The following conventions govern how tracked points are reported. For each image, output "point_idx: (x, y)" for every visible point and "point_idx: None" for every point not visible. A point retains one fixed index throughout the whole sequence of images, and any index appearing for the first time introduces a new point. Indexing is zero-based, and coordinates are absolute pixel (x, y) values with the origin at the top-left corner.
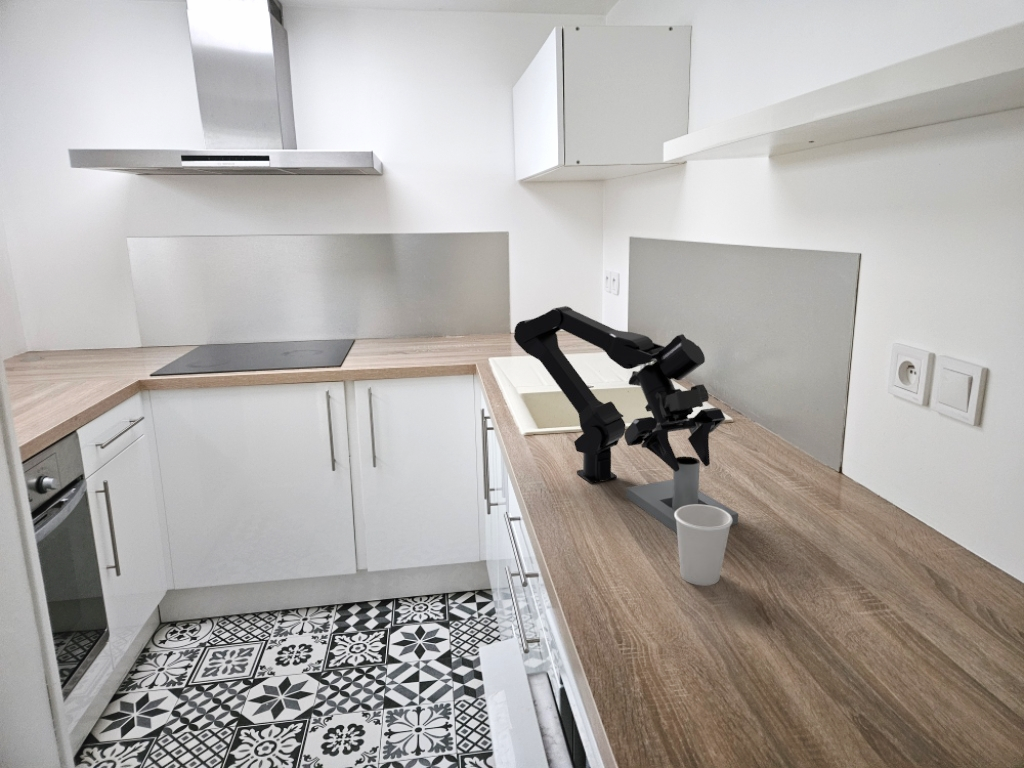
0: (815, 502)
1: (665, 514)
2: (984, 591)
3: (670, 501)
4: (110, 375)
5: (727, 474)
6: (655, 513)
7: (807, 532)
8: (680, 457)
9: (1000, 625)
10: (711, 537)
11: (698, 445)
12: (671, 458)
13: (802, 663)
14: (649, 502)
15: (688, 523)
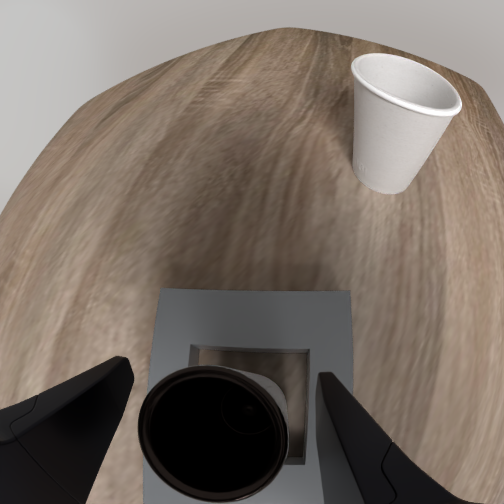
0: (10, 297)
1: (351, 369)
2: (113, 94)
3: None
4: None
5: None
6: None
7: (101, 217)
8: (204, 494)
9: (159, 67)
10: (402, 75)
11: (67, 459)
12: (366, 411)
13: (349, 65)
14: None
15: (442, 77)
